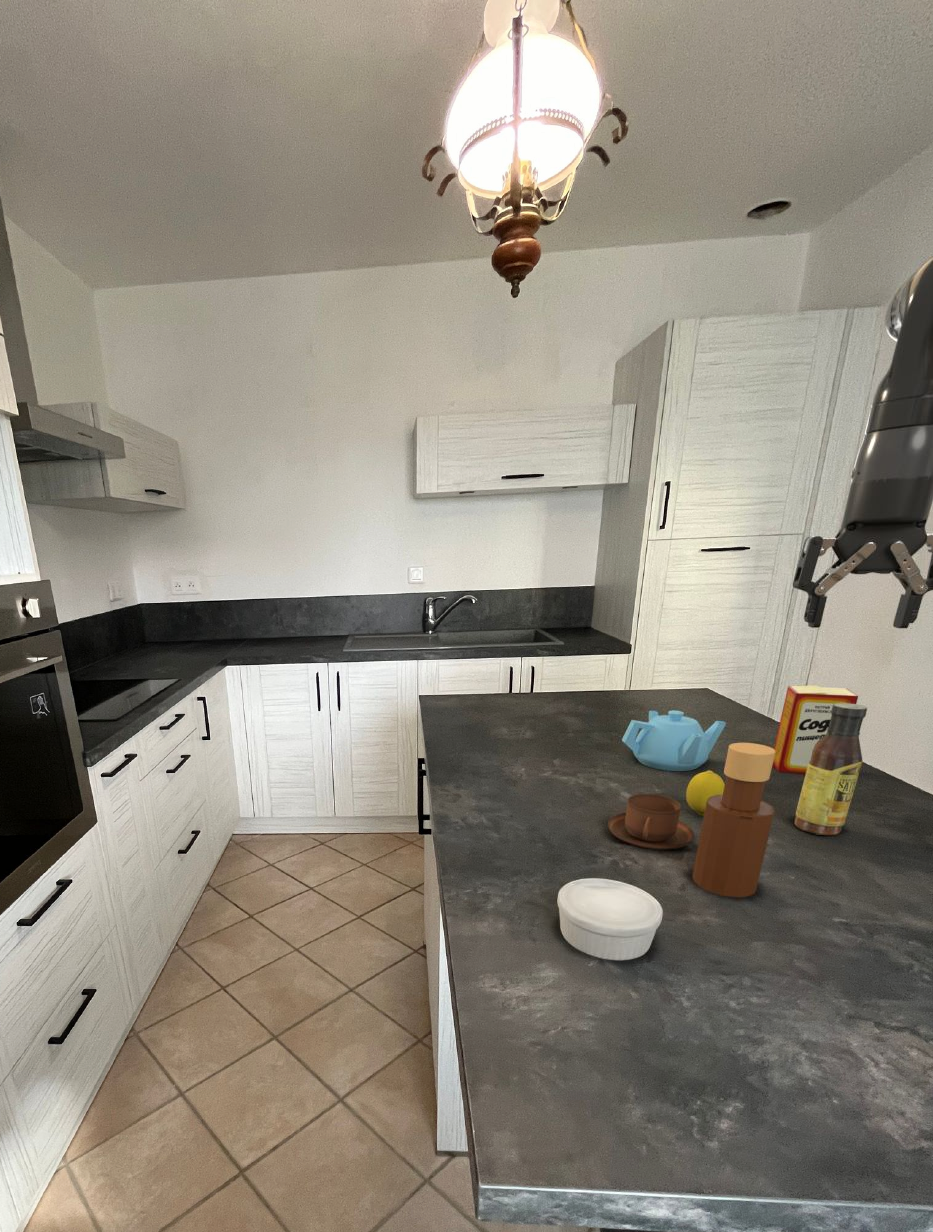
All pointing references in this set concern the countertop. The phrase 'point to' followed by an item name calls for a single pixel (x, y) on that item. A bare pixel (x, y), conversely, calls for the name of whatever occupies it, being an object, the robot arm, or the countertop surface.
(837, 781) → the sauce bottle
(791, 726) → the baking soda box
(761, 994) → the countertop surface
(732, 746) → the bung
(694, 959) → the countertop surface
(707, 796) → the lemon
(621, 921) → the ramekin
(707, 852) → the brown bottle
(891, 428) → the robot arm
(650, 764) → the teapot
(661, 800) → the cup and saucer
